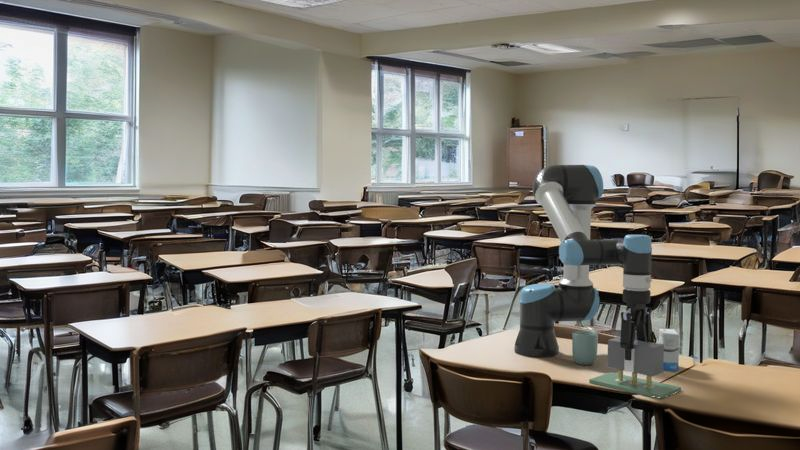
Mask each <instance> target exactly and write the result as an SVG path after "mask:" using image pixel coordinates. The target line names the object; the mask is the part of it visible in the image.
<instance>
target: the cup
mask: <svg viewBox="0 0 800 450" xmlns="http://www.w3.org/2000/svg"><path fill="white" fill-rule="evenodd" d="M598 338H599V335H598V333H597V332H595V331H590V330H589V331H588V330H576V331H573V332H572V342H571V344H572V345H571V347H572V352H571V353H572V357H573V361H574V362H576V364H579V365H580V366H590V365H593V364H594V363H595V361H596V360H597V355H598V348H599V347H598V345H599V343H598V342H599V341H598V340H599V339H598Z"/></svg>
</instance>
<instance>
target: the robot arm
mask: <svg viewBox="0 0 800 450" xmlns="http://www.w3.org/2000/svg"><path fill="white" fill-rule="evenodd" d="M603 179H604V178H603V176H602V173H601V172H600V170H599V169H598V168H597V167H596V166H594V165H590V164H589V165H588V164H550V165H548V166H545V167H543V168H542V169H541V170H539V172H537V174H536V176H535V177H534V179H533V182H532V195H533V198H534V199H535V201H536V203H537V204H538V205H540V206H542V208H543V210H544V212H545V214H546V216H547V218H548V220H549V221H550V223H551V225H552V227H553V229H554V231H555V233H556V235H557V237H558V239H559V240H560V244H559V247H558V255H559V259H560V261H561V263H562V264H563V274H562V275H563V276H562V278H561V279H560V280H559V281H558V287H556V286H555V285H554V283H553V284H552V283H549V282H548V283H547V282H546V283H535V284H530V285H526V286H523V287H522V289H521V291H520V296H519V331H518V334H517V337H516V339H515V343H514V352H515V353H516V354H518V353H519V354H518V355H521V354H522V355H523V356H527V357H535V358H541V357H543V358H544V357H545V358H546V357H547V358H548V357H554V356H558V355H559V354H560V348H559V347H560V346H559V343H558V339H557V337H556V333H555V322H557V323H558V322H579V323H581V322H585V321H590V320H591V321H592V320H593V318H595V316H596V315H597V314H598V311H599V306H600V296H599V290H597V288H596V287H594V283H593V281H592V280H591V279H590V277H589V276H590V266H602V265H603V266H604V265H605V266H612V265H615V266H617V265H619V266H622V269H623V270H622V271H623V272H622V287H623V289H622V302H623V303H626V305H627V306H626V311H624V312H623V311H621V312H620V321H621V322H620V323H621V324H620V337H621V339H620V346H621V348H625V357H624V370H623V372H624V371H625V372H628V373H629V372H630V373H632V372H634V363H635V349H633V346H634V340H639V341H646V342H651V312H652V308H651V307H647V306H646V305H647V304H650V302H651V293H652V292H651V291H650V289H651V286H652V285H651V282H653V281H652V280H653V279H652V277H651V276H652V256H653V255H652V251H653V247H652V237H651V236H650V235H647V234H626V235H625V236H624V238H623V239H622V238H611V239H591V220H592V210H593V209H594V207H595V206H597V205H596V204H597V200H599V199H601V198H602V196H603V193H604V180H603ZM635 338H636V339H635Z"/></svg>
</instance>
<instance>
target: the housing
mask: <svg viewBox="0 0 800 450" xmlns="http://www.w3.org/2000/svg"><path fill="white" fill-rule="evenodd" d="M620 339H621V336H618V337H614V338H609V339H608V340H607V368H608V369H609V368H610V369H615V370H618V369H619V370H623V371H624V357H625V348H621V346H620ZM633 349H635V363H634V373H637V374H640V375H644V376H647V375H649V376H652V377H655V376H658V375H660V374H663V373H664V370H663V361H664V344H659V342H651V341H650V342H646V341H639V340H637V339H635V340H634V346H633Z"/></svg>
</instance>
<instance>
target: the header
mask: <svg viewBox="0 0 800 450" xmlns="http://www.w3.org/2000/svg"><path fill="white" fill-rule="evenodd" d="M652 378H653V376H649V375H646V379H645V378H640V377H638V373H634V372H631V376H629V375H626V374H624V370H619V369H617V373H616V372H612V371H611V372H610V371H609V372H605V373H603V374H601V375H598V376H595V377H592V378H590V379H589V382H588V383H589V384H593V385H597V386H601V387H605V388H606V387H607V388H609V389H614V390H618V391H623V392H626V393H627V392H628V393H633V394H636V395H640V394H642V395H641V396H645V395H648V396H647V397H649V396H655V397H660V398H663V397H666V396H668V395H670V396H672V395H674V394H673V393H675V392H677V391H679V392H681V391H682V386H677V385H674V384H673V385H672V384H667V383H663V382H659V381H654V380H653V379H652ZM680 390H681V391H680ZM677 393H678V392H677ZM671 394H672V395H671ZM675 394H676V393H675ZM668 397H669V396H668ZM666 398H667V397H666Z"/></svg>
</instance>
